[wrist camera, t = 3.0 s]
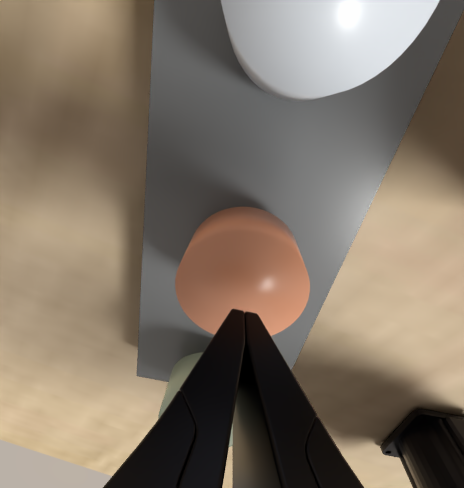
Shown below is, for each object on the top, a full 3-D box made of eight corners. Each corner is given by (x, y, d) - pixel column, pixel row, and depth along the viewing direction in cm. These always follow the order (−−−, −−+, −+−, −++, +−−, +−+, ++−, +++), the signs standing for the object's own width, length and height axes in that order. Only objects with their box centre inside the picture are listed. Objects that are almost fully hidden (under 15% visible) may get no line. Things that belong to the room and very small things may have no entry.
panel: (273, 376, 20) (276, 402, 18) (147, 352, 19) (136, 375, 18) (445, -18, 9) (492, -50, 8) (178, -87, 9) (160, -138, 7)
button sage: (241, 410, 17) (240, 454, 15) (168, 396, 17) (155, 439, 14) (260, 361, 15) (262, 405, 12) (175, 345, 14) (162, 386, 12)
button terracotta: (279, 309, 13) (286, 350, 11) (183, 290, 13) (169, 327, 10) (314, 220, 11) (331, 248, 8) (197, 195, 10) (183, 216, 8)
